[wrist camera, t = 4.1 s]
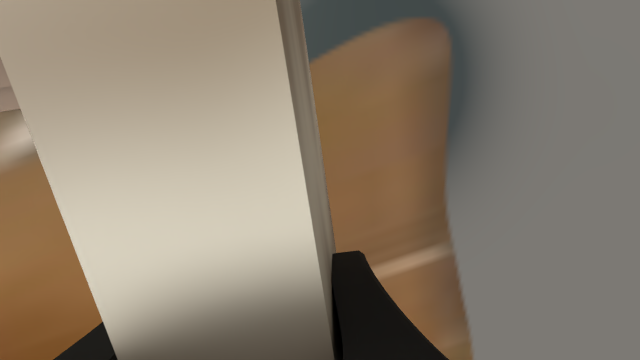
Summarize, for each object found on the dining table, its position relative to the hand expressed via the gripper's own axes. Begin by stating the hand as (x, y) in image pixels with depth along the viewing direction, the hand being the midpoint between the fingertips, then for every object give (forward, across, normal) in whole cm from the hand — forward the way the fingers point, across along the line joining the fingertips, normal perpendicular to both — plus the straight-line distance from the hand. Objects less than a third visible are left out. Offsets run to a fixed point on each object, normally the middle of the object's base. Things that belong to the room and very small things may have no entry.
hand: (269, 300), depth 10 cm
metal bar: (+2, 0, 0) cm, 2 cm away
